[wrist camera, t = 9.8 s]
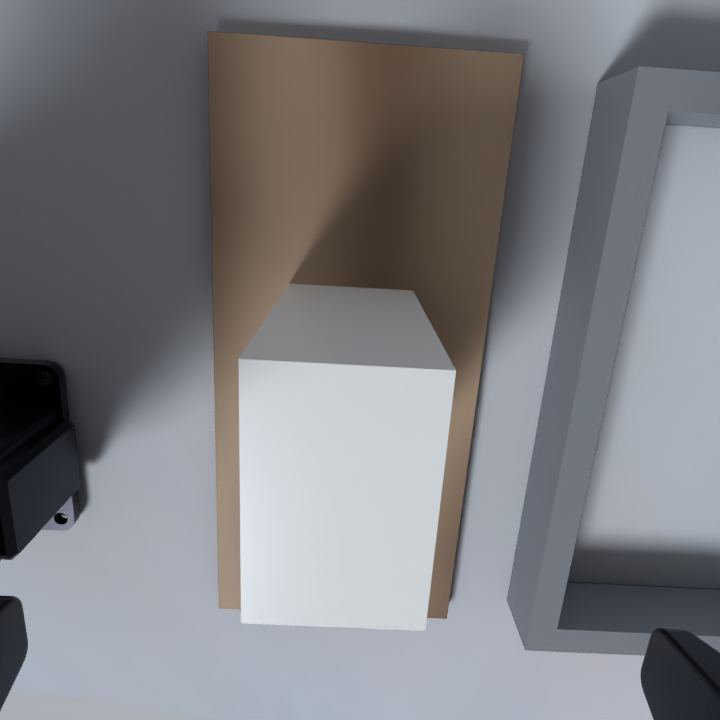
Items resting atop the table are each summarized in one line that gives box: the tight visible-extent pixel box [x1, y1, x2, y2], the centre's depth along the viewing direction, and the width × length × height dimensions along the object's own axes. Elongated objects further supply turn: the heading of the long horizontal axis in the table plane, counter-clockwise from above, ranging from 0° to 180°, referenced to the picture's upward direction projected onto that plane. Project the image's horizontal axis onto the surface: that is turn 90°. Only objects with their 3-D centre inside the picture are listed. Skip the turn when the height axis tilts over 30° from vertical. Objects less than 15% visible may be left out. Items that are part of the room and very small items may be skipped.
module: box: [239, 284, 456, 631], centre depth 15 cm, size 4×6×8 cm
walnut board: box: [208, 31, 524, 619], centre depth 19 cm, size 9×20×1 cm, turn 176°
